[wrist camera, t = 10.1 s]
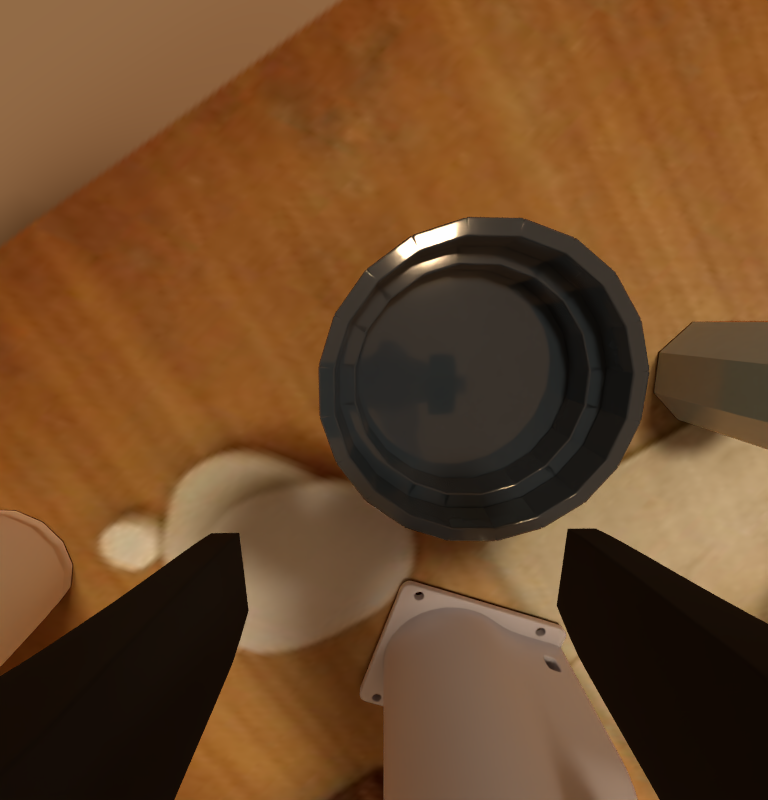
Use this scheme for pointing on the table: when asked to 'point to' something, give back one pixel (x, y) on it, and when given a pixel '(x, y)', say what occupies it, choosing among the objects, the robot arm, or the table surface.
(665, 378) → the cup
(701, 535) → the table surface
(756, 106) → the table surface
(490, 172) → the table surface
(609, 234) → the table surface
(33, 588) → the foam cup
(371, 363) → the bowl
